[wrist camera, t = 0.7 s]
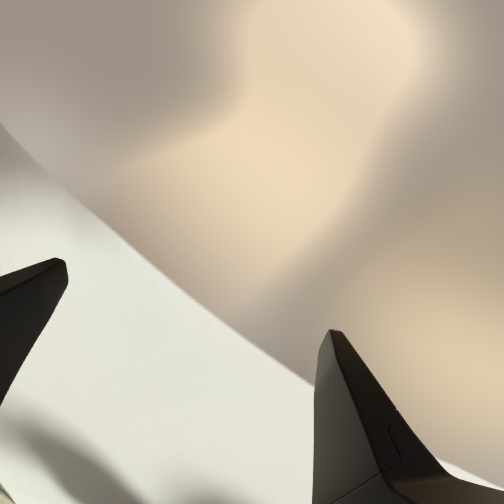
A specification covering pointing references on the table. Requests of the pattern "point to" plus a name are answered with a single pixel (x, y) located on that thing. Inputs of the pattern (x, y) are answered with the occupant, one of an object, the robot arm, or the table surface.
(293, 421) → the table surface
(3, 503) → the lidded jar
